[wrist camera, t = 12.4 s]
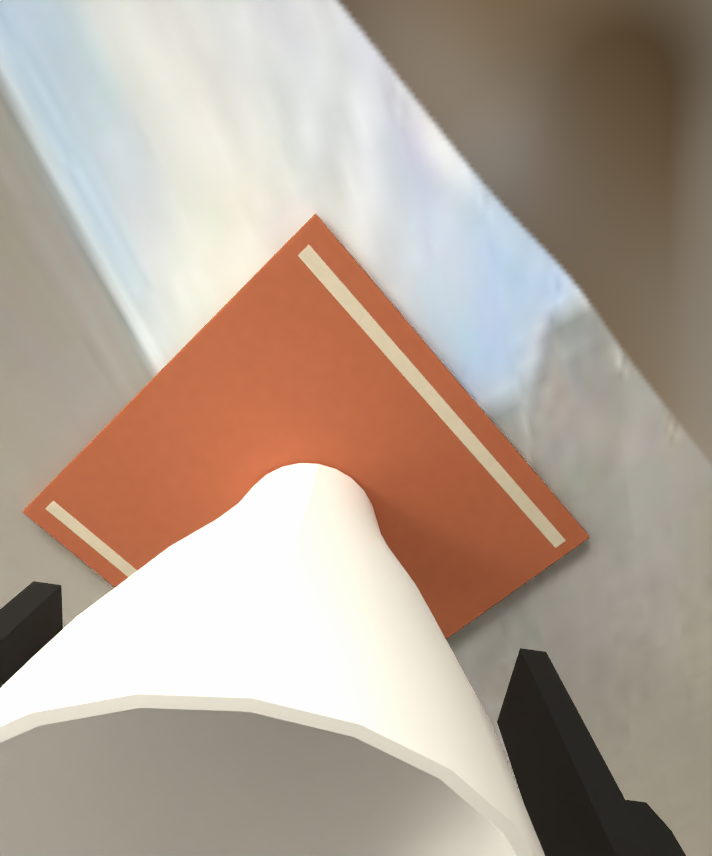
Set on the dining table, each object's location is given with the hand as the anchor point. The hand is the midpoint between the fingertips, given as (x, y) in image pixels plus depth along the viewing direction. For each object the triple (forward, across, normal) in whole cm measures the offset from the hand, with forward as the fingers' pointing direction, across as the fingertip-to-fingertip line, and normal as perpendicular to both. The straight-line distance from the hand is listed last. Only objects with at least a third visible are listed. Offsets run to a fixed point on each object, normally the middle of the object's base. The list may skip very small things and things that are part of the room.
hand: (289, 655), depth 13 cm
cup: (+8, 0, 0) cm, 8 cm away
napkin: (+8, 0, 0) cm, 8 cm away
